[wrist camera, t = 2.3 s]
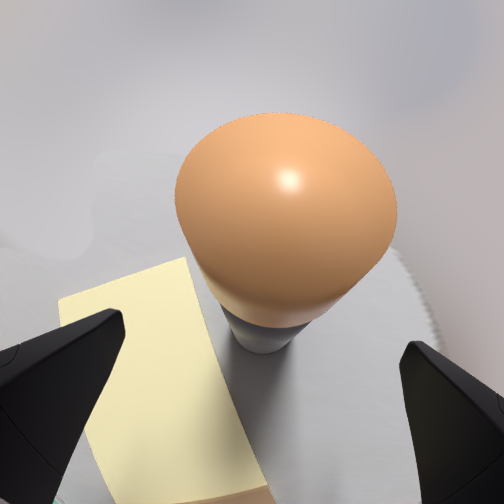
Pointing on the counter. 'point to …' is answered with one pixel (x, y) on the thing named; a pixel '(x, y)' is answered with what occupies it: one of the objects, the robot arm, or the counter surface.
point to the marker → (282, 220)
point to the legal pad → (166, 399)
